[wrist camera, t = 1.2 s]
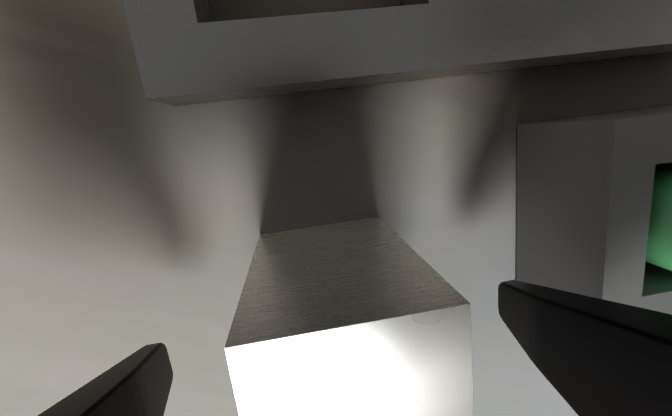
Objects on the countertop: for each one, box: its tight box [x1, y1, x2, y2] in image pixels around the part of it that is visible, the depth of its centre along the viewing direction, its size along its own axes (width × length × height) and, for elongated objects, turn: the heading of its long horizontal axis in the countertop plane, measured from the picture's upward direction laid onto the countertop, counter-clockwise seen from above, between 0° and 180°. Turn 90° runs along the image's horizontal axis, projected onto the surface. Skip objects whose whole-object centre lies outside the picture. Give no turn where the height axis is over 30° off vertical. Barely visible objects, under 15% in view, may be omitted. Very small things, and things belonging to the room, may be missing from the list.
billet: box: [224, 217, 473, 416], centre depth 9 cm, size 4×4×6 cm
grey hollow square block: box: [516, 105, 672, 315], centre depth 10 cm, size 6×6×4 cm
